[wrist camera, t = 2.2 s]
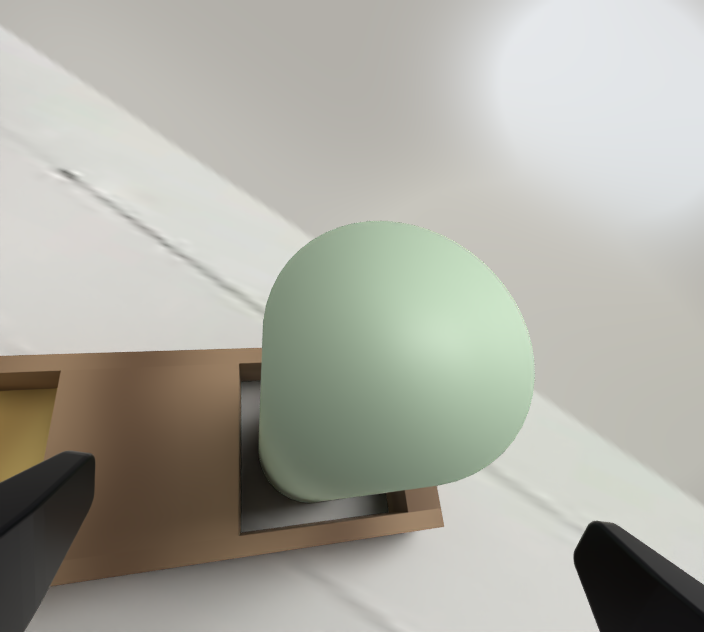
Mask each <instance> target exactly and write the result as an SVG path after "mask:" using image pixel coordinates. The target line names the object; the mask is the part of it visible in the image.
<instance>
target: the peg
mask: <svg viewBox="0 0 704 632" xmlns="http://www.w3.org/2000/svg"><path fill="white" fill-rule="evenodd" d="M534 372H535V371H534V357H533V350H532V344H531V341H530V337H529V333H528V329H527V327H526V324H525V322H524V319H523V317H522V314H521V312H520V310H519V309H518V307H517V305H516V303H515V301H514V299H513V298H512V296H511V295H510V293H509V292H508V290H507V289H506V288H505V286H504V285H503V283H502V282H501V281H500V280H499V279H498V278H497V276H496V275H495V274H494V273H493V272H492V271H491V270H490V269H489V268H488V267H487V266H486V265H485V264H484V263H483V262H482V261H481V260H480V259H478V258H477V257H476V256H474V255H473V254H472V253H471V252H469V251H468V250H467V249H465V248H464V247H462V246H461V245H459V244H458V243H456V242H454V241H452V240H450V239H448V238H447V237H445V236H443V235H440V234H438V233H435V232H433V231H431V230H428V229H425V228H421V227H418V226H415V225H410V224H404V223H400V222H389V221H367V222H360V223H354V224H350V225H346V226H342V227H339V228H336V229H334V230H332V231H329V232H326V233H324V234H322V235H321V236H319V237H317V238H315V239H314V240H312V241H310V242H309V243H308V244H307V245H305V246H304V247H303V248H301V249H300V250H299V251H298V252H297V253H296V254H295V255H294V256H293V257H292V258H291V259H290V260H289V261H288V263H287V264H286V265H285V267H284V268H283V270H282V271H281V272H280V274H279V275H278V277H277V279H276V281H275V283H274V285H273V287H272V289H271V292H270V295H269V298H268V301H267V304H266V309H265V314H264V320H263V338H262V365H261V392H260V419H259V446H258V452H259V460H260V464H261V467H262V470H263V472H264V474H265V476H266V478H267V479H268V481H269V482H270V484H271V485H272V486H273V487H274V488H275V489H276V490H277V491H279V492H280V493H281V494H282V495H284V496H286V497H288V498H290V499H293V500H295V501H300V502H308V503H312V502H322V501H329V500H336V499H344V498H351V497H358V496H366V495H373V494H380V493H387V492H395V491H402V490H409V489H416V488H424V487H431V486H438V485H442V484H447V483H451V482H456V481H458V480H461V479H463V478H466V477H468V476H471V475H473V474H475V473H477V472H478V471H480V470H482V469H483V468H485V467H487V466H488V465H490V464H491V463H492V462H493V461H494V460H495V459H497V458H498V457H499V456H500V455H501V454H503V452H504V451H505V450H506V449H507V448H508V446H509V445H510V444H511V443H512V442H513V441H514V439H515V437H516V436H517V434H518V432H519V431H520V429H521V427H522V426H523V423H524V421H525V419H526V416H527V414H528V411H529V408H530V404H531V400H532V396H533V389H534V379H535V373H534Z"/></svg>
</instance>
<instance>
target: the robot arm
mask: <svg viewBox="0 0 704 632" xmlns="http://www.w3.org/2000/svg"><path fill="white" fill-rule="evenodd" d="M95 463H96V462H95V457H94V455H93V454H91V453H86V452H79V451H71V450H70V451H64V452H61V453H59V454H57V455H55V456H53V457H51V458H49V459H47V460H45V461H43V462H41V463H39V464H37V465H35V466H33V467H31V468H29V469H26V470H24V471H22V472H20V473H18V474H16V475H14V476H12V477H10V478H8V479H6V480H4V481H2V482H0V632H24V631H25V629H26V627H27V626H28V624H29V623H30V621H31V619H32V618H33V616H34V614H35V613H36V611H37V609H38V607H39V605H40V604H41V602H42V600H43V598H44V596H45V594H46V592H47V591H48V589H49V587H50V585H51V583H52V581H53V579H54V577H55V575H56V573H57V571H58V569H59V567H60V566H61V564H62V562H63V560H64V558H65V556H66V554H67V552H68V550H69V548H70V546H71V544H72V542H73V540H74V539H75V537H76V535H77V533H78V531H79V529H80V527H81V525H82V523H83V521H84V519H85V517H86V515H87V514H88V512H89V510H90V507H91V505H92V502H93V499H94V492H95ZM574 565H575V568H576V570H577V573H578V576H579V578H580V581H581V584H582V586H583V589H584V591H585V594H586V597H587V599H588V602H589V605H590V607H591V610H592V613H593V615H594V618H595V620H596V623H597V626H598V628H599V631H600V632H704V585H703V584H702V583H700V582H699V581H697V580H696V579H695V578H693V577H692V576H690V575H689V574H687V573H686V572H684V571H683V570H682V569H680V568H679V567H677V566H676V565H674V564H673V563H671V562H670V561H669V560H667V559H666V558H664V557H663V556H661V555H660V554H658V553H657V552H656V551H654V550H653V549H651V548H650V547H648V546H647V545H645V544H644V543H643V542H641V541H640V540H638V539H637V538H635V537H634V536H633V535H631V534H630V533H628V532H627V531H625V530H624V529H622V528H621V527H620V526H618V525H616V524H614V523H610V522H602V521H592V522H591V523H590V524H589V525H588V526H587V528H586V530H585V532H584V534H583V535H582V537H581V539H580V541H579V543H578V545H577V547H576V548H575V551H574Z"/></svg>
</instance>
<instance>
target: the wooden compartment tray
mask: <svg viewBox="0 0 704 632" xmlns="http://www.w3.org/2000/svg"><path fill="white" fill-rule="evenodd" d="M261 365H262V348H241V349H209V350H177V351H145V352H113V353H81V354H49V355H17V356H0V482H2V481H4V480H6V479H8V478H10V477H12V476H14V475H16V474H18V473H20V472H22V471H24V470H26V469H29V468H31V467H33V466H35V465H37V464H39V463H41V462H43V461H45V460H47V459H49V458H51V457H53V456H55V455H57V454H59V453H61V452H64V451H70V450H71V451H79V452H86V453H91V454H93V455H94V457H95V462H96V463H95V492H94V499H93V502H92V505H91V507H90V510H89V512H88V514H87V515H86V517H85V519H84V521H83V523H82V525H81V527H80V529H79V531H78V533H77V535H76V537H75V539H74V540H73V542H72V544H71V546H70V548H69V550H68V552H67V554H66V556H65V558H64V560H63V562H62V564H61V566H60V567H59V569H58V571H57V573H56V575H55V577H54V579H53V581H52V583H51V585H50V586H56V585H62V584H69V583H76V582H82V581H89V580H95V579H102V578H109V577H115V576H122V575H128V574H135V573H142V572H148V571H155V570H161V569H168V568H175V567H181V566H188V565H195V564H201V563H208V562H214V561H221V560H228V559H234V558H241V557H247V556H254V555H261V554H267V553H274V552H280V551H287V550H294V549H300V548H307V547H313V546H320V545H327V544H333V543H340V542H346V541H353V540H360V539H366V538H373V537H379V536H386V535H393V534H399V533H406V532H412V531H419V530H426V529H432V528H439V527H444V523H443V518H442V512H441V507H440V501H439V496H438V491H437V486H431V487H424V488H416V489H409V490H402V491H395V492H387V493H386V497H387V504H388V511H389V512H387V513H380V514H373V515H365V516H358V517H351V518H343V519H336V520H329V521H322V522H314V523H307V524H300V525H292V526H285V527H278V528H271V529H263V530H256V531H249V532H241V381H257V380H261Z"/></svg>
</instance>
